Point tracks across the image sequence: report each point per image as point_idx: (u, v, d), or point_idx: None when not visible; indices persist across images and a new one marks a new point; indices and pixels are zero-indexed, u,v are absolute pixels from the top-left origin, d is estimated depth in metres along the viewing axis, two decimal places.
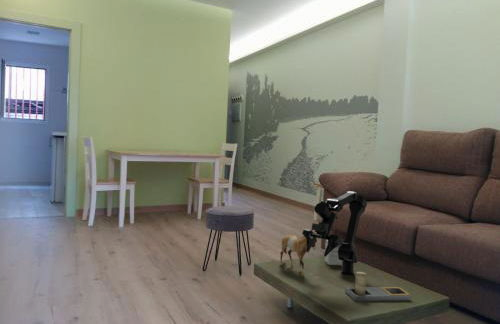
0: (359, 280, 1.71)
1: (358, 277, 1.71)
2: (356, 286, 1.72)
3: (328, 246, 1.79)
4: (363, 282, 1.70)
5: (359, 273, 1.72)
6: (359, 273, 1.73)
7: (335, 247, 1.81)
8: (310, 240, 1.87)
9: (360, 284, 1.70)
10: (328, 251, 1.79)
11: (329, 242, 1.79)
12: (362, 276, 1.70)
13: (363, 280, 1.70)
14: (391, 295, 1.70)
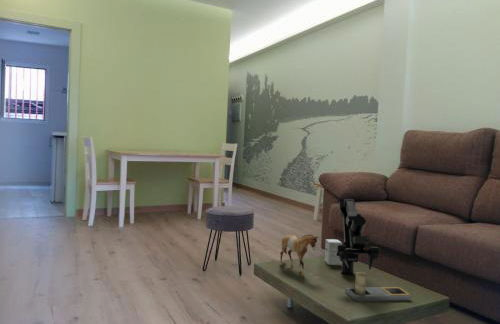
0: (359, 280, 1.71)
1: (358, 277, 1.71)
2: (356, 286, 1.72)
3: (371, 258, 1.78)
4: (363, 282, 1.70)
5: (359, 273, 1.72)
6: (359, 273, 1.73)
7: (372, 260, 1.82)
8: None
9: (360, 284, 1.70)
10: (371, 264, 1.78)
11: (372, 254, 1.78)
12: (362, 276, 1.70)
13: (363, 280, 1.70)
14: (391, 295, 1.70)
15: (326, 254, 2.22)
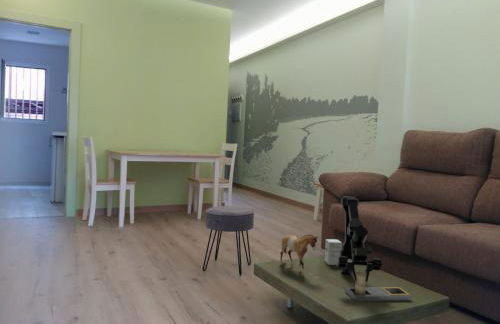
0: (359, 279, 1.71)
1: (358, 277, 1.71)
2: (356, 286, 1.72)
3: (368, 270, 1.73)
4: (363, 282, 1.70)
5: (359, 273, 1.72)
6: (359, 273, 1.73)
7: None
8: None
9: (360, 284, 1.70)
10: (368, 276, 1.73)
11: (369, 266, 1.73)
12: (362, 276, 1.70)
13: (363, 280, 1.70)
14: (391, 295, 1.70)
15: (326, 254, 2.22)
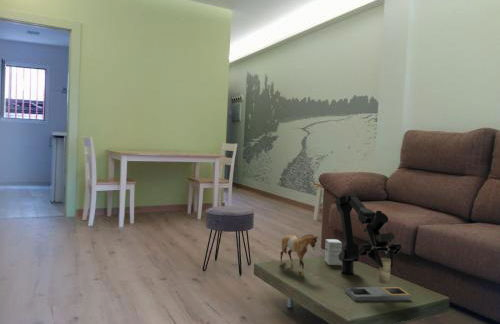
0: (385, 265, 1.71)
1: (385, 263, 1.71)
2: (382, 272, 1.71)
3: (391, 256, 1.74)
4: (389, 267, 1.71)
5: (384, 259, 1.72)
6: (383, 259, 1.73)
7: None
8: None
9: (387, 269, 1.71)
10: None
11: (391, 251, 1.75)
12: (388, 262, 1.71)
13: (389, 266, 1.71)
14: (391, 295, 1.70)
15: (326, 254, 2.22)
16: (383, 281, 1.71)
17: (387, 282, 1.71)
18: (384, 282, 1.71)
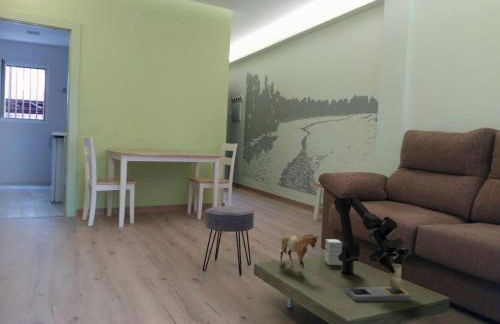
0: (397, 271, 1.72)
1: (397, 269, 1.73)
2: (394, 278, 1.73)
3: (401, 261, 1.77)
4: None
5: (395, 265, 1.74)
6: (395, 264, 1.74)
7: None
8: None
9: (399, 275, 1.73)
10: None
11: (401, 256, 1.77)
12: (400, 267, 1.73)
13: (401, 271, 1.73)
14: (391, 295, 1.70)
15: (326, 254, 2.22)
16: (395, 287, 1.73)
17: (399, 287, 1.73)
18: (396, 288, 1.73)
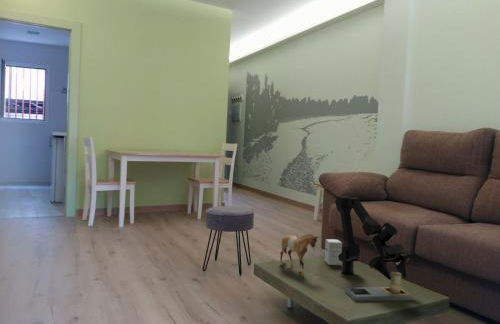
0: (397, 280, 1.73)
1: (396, 278, 1.73)
2: (393, 286, 1.73)
3: (404, 267, 1.77)
4: (400, 281, 1.73)
5: (395, 273, 1.74)
6: (394, 273, 1.75)
7: None
8: None
9: (398, 283, 1.73)
10: None
11: (404, 262, 1.78)
12: (400, 276, 1.73)
13: (400, 280, 1.73)
14: (391, 295, 1.70)
15: (326, 254, 2.22)
16: None
17: None
18: None
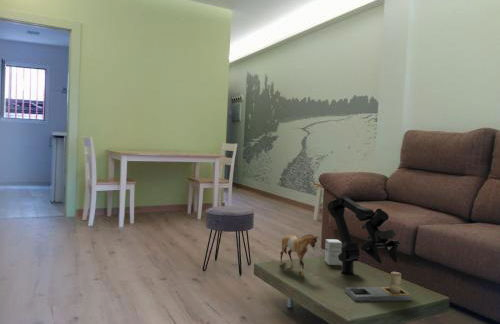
0: (397, 280, 1.73)
1: (396, 278, 1.73)
2: (393, 286, 1.73)
3: (395, 252, 1.83)
4: (400, 281, 1.73)
5: (395, 273, 1.74)
6: (394, 273, 1.75)
7: None
8: None
9: (398, 283, 1.73)
10: None
11: (395, 247, 1.83)
12: (400, 276, 1.73)
13: (400, 280, 1.73)
14: (391, 295, 1.70)
15: (326, 254, 2.22)
16: None
17: None
18: None
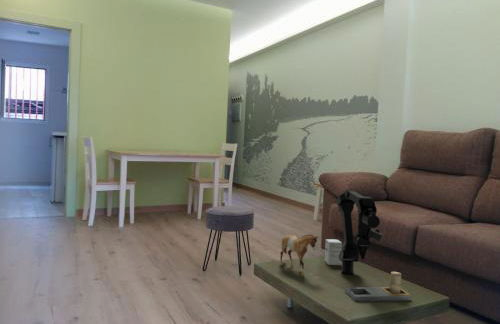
0: (397, 280, 1.73)
1: (396, 278, 1.73)
2: (393, 286, 1.73)
3: None
4: (400, 281, 1.73)
5: (395, 273, 1.74)
6: (394, 273, 1.75)
7: (357, 240, 1.95)
8: None
9: (398, 283, 1.73)
10: None
11: None
12: (400, 276, 1.73)
13: (400, 280, 1.73)
14: (391, 295, 1.70)
15: (326, 254, 2.22)
16: None
17: None
18: None
